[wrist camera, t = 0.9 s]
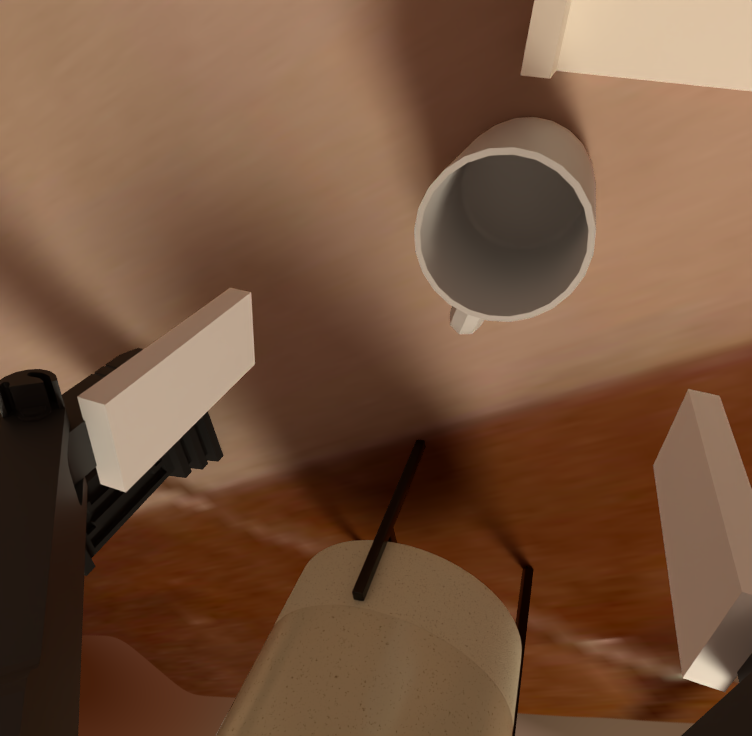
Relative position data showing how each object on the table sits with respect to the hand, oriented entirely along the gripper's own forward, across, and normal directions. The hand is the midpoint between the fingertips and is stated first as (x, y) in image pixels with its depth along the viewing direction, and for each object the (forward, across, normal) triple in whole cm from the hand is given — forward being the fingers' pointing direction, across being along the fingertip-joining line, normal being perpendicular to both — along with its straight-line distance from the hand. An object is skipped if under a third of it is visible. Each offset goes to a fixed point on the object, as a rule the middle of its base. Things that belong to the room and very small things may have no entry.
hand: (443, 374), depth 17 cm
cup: (+17, 0, 0) cm, 17 cm away
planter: (+18, -1, -25) cm, 30 cm away
